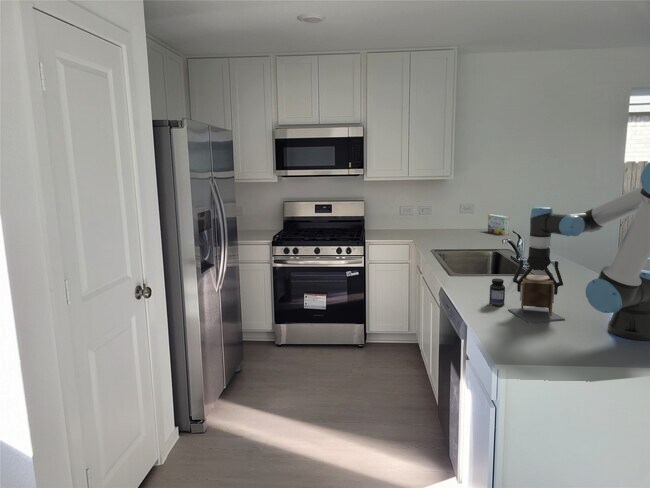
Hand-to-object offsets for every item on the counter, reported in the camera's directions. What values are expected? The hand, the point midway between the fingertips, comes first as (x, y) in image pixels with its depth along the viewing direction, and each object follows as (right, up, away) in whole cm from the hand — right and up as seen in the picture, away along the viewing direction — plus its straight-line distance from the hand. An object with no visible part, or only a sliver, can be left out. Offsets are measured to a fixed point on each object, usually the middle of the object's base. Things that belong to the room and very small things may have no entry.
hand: (536, 301), depth 181 cm
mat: (0, -6, +1) cm, 6 cm away
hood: (0, -4, +1) cm, 4 cm away
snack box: (+61, +32, +201) cm, 213 cm away
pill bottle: (-10, -4, +16) cm, 19 cm away
